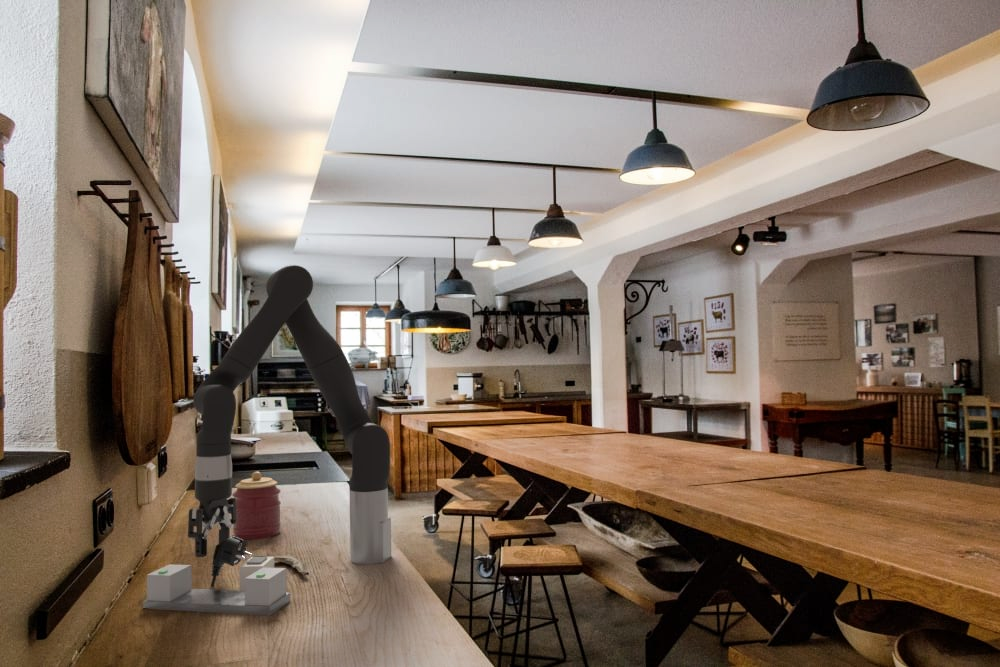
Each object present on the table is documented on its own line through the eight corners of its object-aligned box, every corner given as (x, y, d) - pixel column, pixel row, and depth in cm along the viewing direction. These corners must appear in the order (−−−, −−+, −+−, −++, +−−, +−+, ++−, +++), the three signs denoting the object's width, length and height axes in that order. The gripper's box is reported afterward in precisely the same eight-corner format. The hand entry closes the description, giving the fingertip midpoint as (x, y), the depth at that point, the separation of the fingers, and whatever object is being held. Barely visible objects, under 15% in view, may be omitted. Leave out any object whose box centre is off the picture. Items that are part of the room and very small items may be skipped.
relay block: (274, 584, 152) (274, 554, 152) (263, 595, 145) (262, 564, 145) (251, 584, 152) (251, 555, 152) (239, 595, 145) (239, 564, 145)
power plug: (217, 581, 153) (230, 529, 153) (246, 593, 152) (259, 541, 151) (200, 590, 148) (214, 536, 147) (230, 602, 146) (244, 548, 146)
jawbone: (280, 559, 172) (281, 550, 172) (337, 573, 161) (337, 563, 161) (249, 563, 165) (250, 554, 165) (306, 578, 153) (306, 568, 154)
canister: (222, 539, 192) (222, 475, 193) (250, 527, 205) (249, 467, 205) (264, 541, 189) (263, 475, 190) (289, 529, 202) (289, 468, 202)
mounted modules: (286, 593, 140) (286, 566, 140) (269, 605, 133) (268, 577, 133) (169, 588, 144) (169, 562, 144) (146, 600, 137) (146, 572, 137)
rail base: (290, 602, 140) (289, 592, 140) (270, 617, 132) (270, 606, 132) (169, 597, 145) (168, 587, 145) (142, 611, 137) (142, 601, 137)
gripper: (210, 482, 144) (209, 561, 143) (247, 471, 158) (246, 543, 157) (177, 481, 145) (176, 559, 144) (216, 470, 159) (216, 542, 158)
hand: (212, 551), depth 151 cm, fingers open, 8 cm apart
